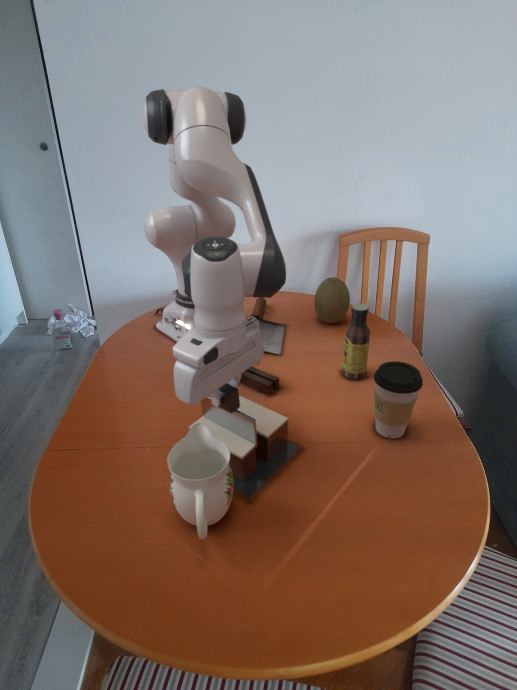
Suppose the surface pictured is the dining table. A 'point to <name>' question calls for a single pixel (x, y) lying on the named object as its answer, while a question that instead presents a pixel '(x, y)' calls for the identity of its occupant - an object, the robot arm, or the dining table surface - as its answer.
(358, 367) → the sauce bottle
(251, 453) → the cake slice
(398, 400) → the coffee cup
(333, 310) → the fruit
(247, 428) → the dough scraper
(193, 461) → the pitcher
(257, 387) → the stand
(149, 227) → the robot arm
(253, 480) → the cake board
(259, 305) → the meat cleaver
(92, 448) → the dining table surface
